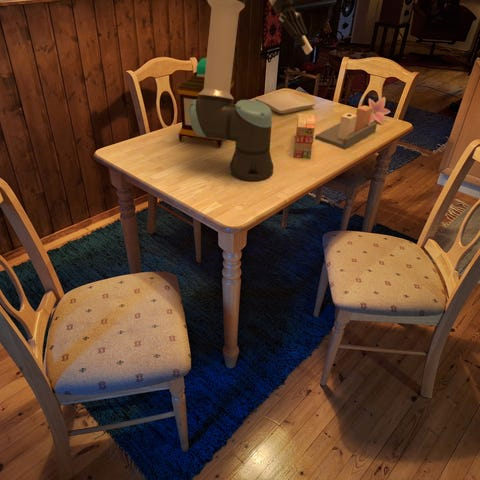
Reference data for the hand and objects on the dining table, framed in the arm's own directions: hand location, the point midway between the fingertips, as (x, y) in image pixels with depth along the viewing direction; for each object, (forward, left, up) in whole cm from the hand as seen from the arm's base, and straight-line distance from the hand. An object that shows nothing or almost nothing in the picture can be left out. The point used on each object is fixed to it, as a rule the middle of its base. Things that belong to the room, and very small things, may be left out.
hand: (309, 52), depth 168 cm
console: (-1, -23, -28) cm, 36 cm away
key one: (-7, -26, -26) cm, 38 cm away
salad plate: (+8, +16, -29) cm, 34 cm away
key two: (+5, -26, -26) cm, 37 cm away
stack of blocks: (-22, -17, -28) cm, 40 cm away
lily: (+21, -24, -28) cm, 43 cm away
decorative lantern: (-43, +16, -28) cm, 54 cm away
